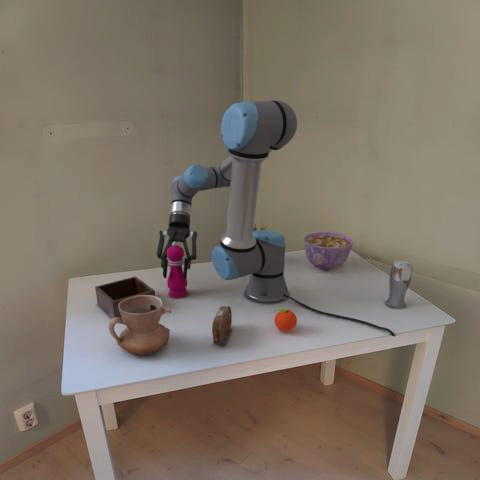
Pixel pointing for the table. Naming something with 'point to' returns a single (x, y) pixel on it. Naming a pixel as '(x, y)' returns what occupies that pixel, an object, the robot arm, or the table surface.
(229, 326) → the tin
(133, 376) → the table surface
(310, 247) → the bowl of food
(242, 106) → the robot arm
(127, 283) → the box
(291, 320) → the clementine
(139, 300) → the ceramic jug
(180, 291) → the pepper mill
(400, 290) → the beer glass
